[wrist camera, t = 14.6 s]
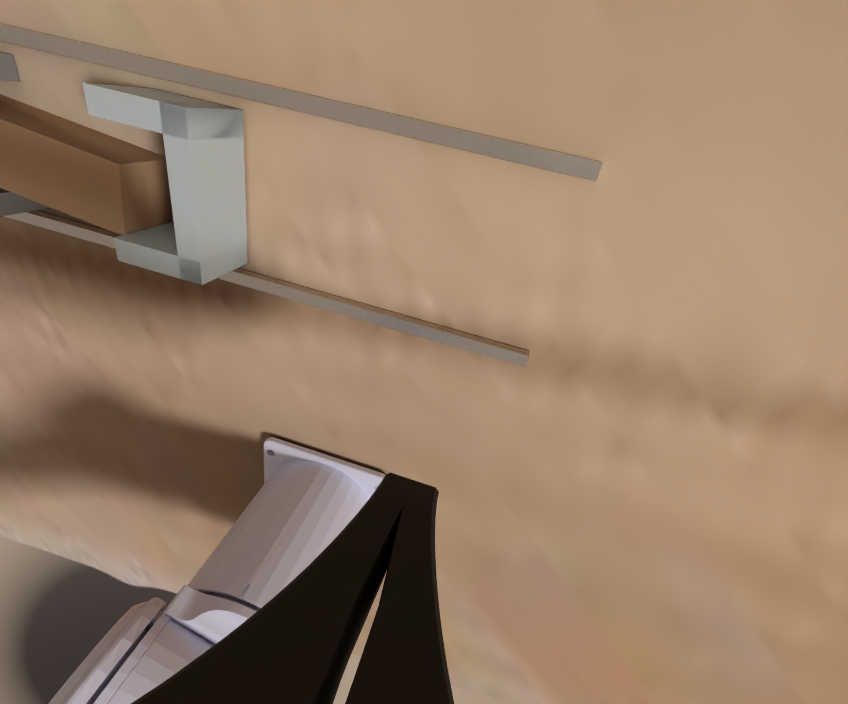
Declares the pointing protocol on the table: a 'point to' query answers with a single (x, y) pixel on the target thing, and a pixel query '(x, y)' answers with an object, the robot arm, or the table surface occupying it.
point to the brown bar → (81, 170)
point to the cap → (186, 181)
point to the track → (325, 109)
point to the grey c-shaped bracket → (3, 200)
